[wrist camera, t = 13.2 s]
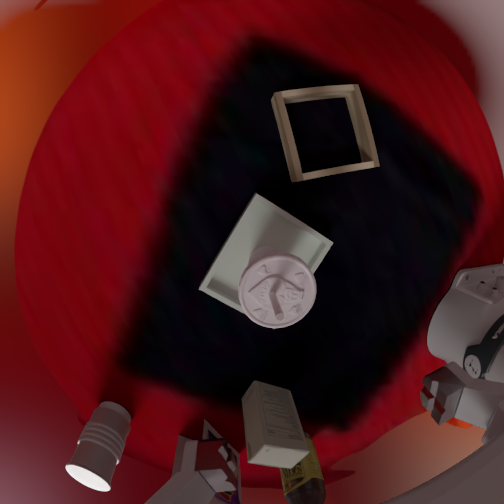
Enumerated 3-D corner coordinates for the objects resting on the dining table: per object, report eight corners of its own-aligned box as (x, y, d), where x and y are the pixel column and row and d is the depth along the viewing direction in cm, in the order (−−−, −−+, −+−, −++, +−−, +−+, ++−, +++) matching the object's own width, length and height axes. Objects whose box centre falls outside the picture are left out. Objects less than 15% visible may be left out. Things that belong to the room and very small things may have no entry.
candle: (90, 397, 36) (56, 459, 22) (125, 400, 36) (97, 470, 22) (105, 424, 38) (79, 485, 23) (138, 428, 38) (118, 495, 23)
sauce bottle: (287, 426, 39) (311, 526, 20) (318, 432, 40) (348, 523, 21) (268, 447, 40) (283, 540, 21) (298, 452, 41) (320, 539, 22)
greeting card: (243, 452, 40) (248, 520, 26) (208, 461, 41) (205, 526, 26) (209, 417, 38) (204, 495, 23) (171, 428, 38) (157, 500, 24)
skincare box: (240, 398, 37) (244, 462, 25) (254, 378, 36) (262, 444, 25) (278, 409, 38) (291, 470, 26) (293, 390, 37) (311, 452, 26)
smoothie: (239, 231, 31) (243, 266, 17) (296, 236, 31) (343, 273, 18) (234, 287, 32) (235, 356, 18) (289, 291, 33) (325, 357, 19)
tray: (254, 193, 31) (256, 193, 29) (326, 238, 33) (333, 242, 30) (201, 282, 33) (198, 289, 31) (272, 320, 35) (275, 329, 32)
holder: (348, 91, 29) (358, 84, 26) (368, 167, 31) (379, 166, 28) (270, 100, 29) (274, 92, 26) (291, 182, 31) (297, 181, 28)
